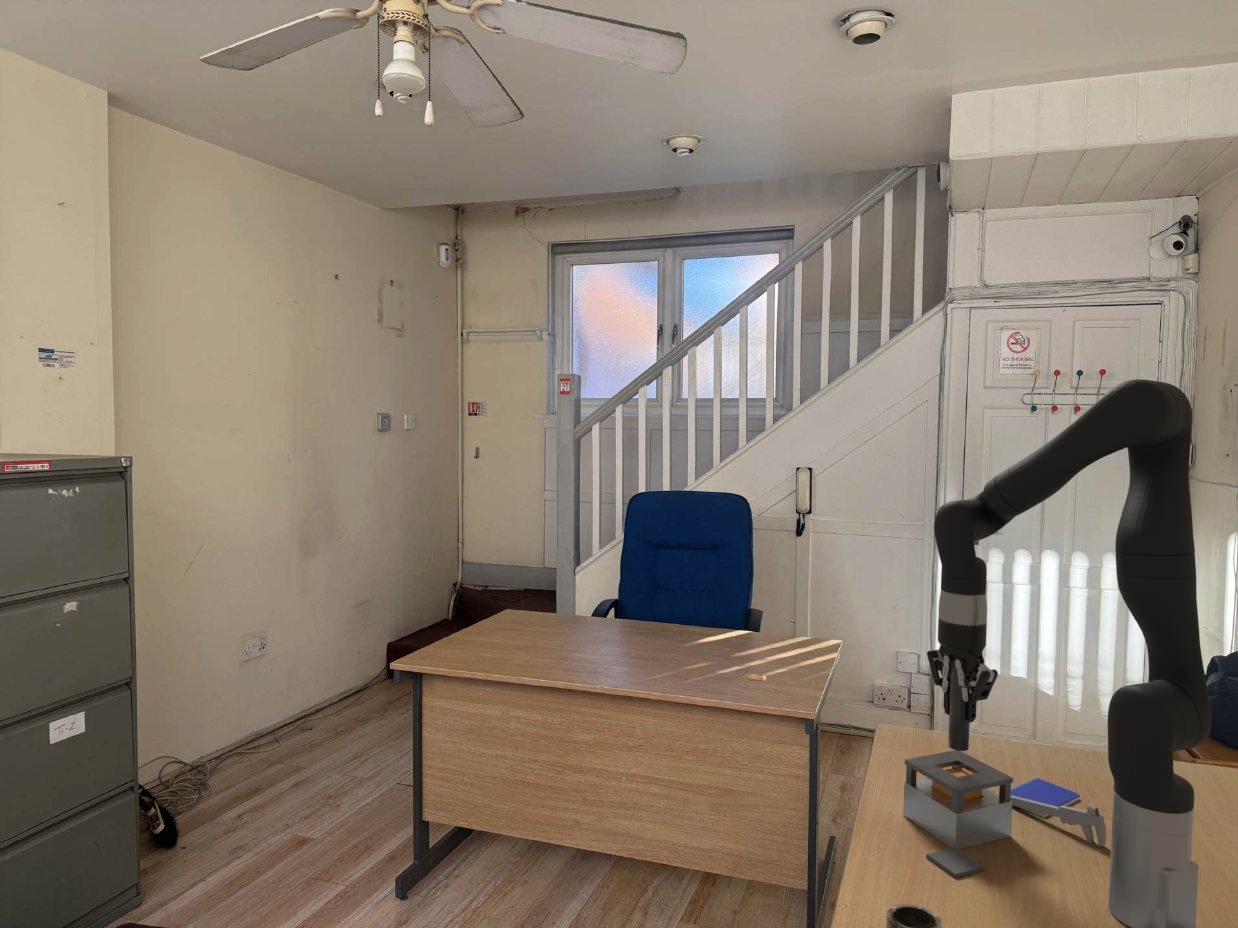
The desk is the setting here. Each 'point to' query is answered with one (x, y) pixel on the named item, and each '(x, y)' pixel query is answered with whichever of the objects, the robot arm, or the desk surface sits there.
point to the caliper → (1069, 817)
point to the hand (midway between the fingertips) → (959, 717)
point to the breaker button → (948, 793)
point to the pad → (955, 862)
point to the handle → (957, 714)
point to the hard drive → (1045, 794)
